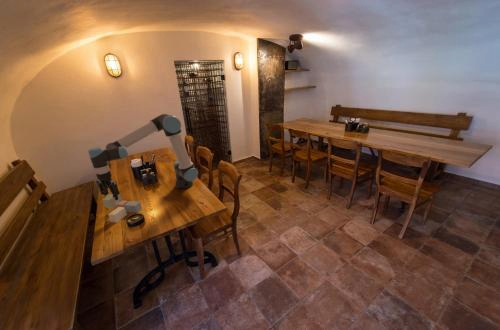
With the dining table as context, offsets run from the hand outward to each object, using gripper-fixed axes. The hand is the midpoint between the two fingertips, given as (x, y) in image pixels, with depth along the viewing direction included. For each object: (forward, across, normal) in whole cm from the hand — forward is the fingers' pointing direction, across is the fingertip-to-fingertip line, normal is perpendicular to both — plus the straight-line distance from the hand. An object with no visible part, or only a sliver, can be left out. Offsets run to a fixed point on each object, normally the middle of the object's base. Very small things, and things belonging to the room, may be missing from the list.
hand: (113, 203), depth 137 cm
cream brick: (+12, 0, 0) cm, 12 cm away
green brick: (0, 0, 0) cm, 0 cm away
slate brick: (+12, -4, -10) cm, 16 cm away
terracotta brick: (+12, +6, -10) cm, 17 cm away
